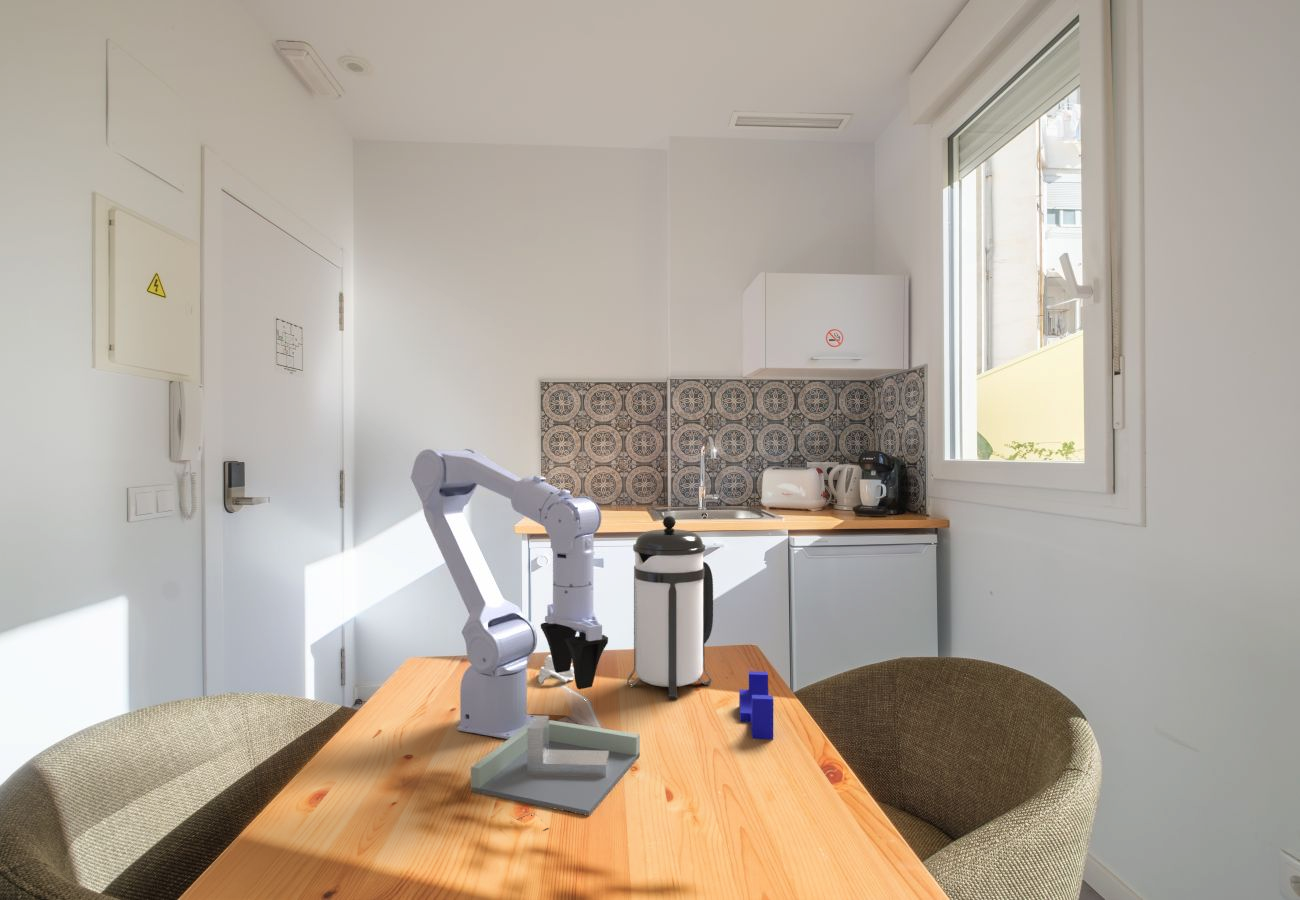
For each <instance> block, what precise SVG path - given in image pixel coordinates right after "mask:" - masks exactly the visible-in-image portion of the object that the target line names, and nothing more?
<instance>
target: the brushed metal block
mask: <svg viewBox="0 0 1300 900" xmlns="http://www.w3.org/2000/svg"><path fill="white" fill-rule="evenodd" d="M549 720H550V716H549V715H534V717H533V719H532V720H531V722H530V724H529V726H528V728H527V775H539V776H590V777H606V774H607V770H608V765H609V751H594V750H549Z"/></svg>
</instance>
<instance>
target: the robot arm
mask: <svg viewBox="0 0 1300 900" xmlns="http://www.w3.org/2000/svg"><path fill="white" fill-rule="evenodd" d="M410 479H411V481H412V483H413V486H414V488H415V490H416V491H415V492H417V495H418V497H419V499H420V501H421V505H422V510H423V514H424V515H423V516H424V518H425V520H426V522H427V525H428V528H429V529H430V531H431V533H432V536H433V538H434V540H435V542H436V544H437V547H438V550H440V554H441V555H442V557H443V559H444V562H445V564H446V566H447V569H448V571H449V573H450V575H451V578H452V579H453V582H454V583H455V586H456V588H457V590H458V592H459V594H460V597H461V599H462V601H463V604H464V606H465V607H466V609H467V612H468V615H469V616H468V618H467V620H466V622H465V624H464V626H463V627H462V630H461V634H462V636H463V638H464V642H465V647H466V648H465V649H466V655H467V659H468V661H469V663H470V665H469V666H468V667H467V669H466V670H465V671H464V673H463V675H462V678H461V680H460V681H461V682H460V690H459V696H460V697H459V699H460V700H459V701H460V702H459V703H460V706H459V707H460V715H459V717H460V719H459V720H460V721H459V722H460V724H459V725H458V726H457V727H456V729H457V731H460V732H466V733H470V734H471V733H473V734H477V735H482V736H483V735H484V736H489V737H494V738H500V739H506V740H508V739H509V738H510V737H512V736H513V735H515V734H516V733H517V732H519V731H520V730H521V729H523V728H524V727H525V726H527V725H528V724H529V723H530V722H531V720H532V719H533V717H534V716H535V715H532V714H528V712H527V710H528V709H527V708H528V707H527V706H528V703H527V702H528V699H527V698H528V697H527V696H528V693H527V691H528V690H527V688H528V683H527V682H528V678H527V677H528V674H527V669H528V668H527V667H528V664H529V663H530V656H531V655H532V654H533V653H534V652H535V650H536V648H537V645H538V634H537V630H536V629H535V627H534V626H535V625H533V623H532V622H531V621H530V620H529V619H528V618H526V616H525V614H523V612H522V611H521V608H520V606H518V605H516V604H515V603H513V602H511V601H509V600H507V599H506V598H504V597H503V595H502V593H501V591H500V589H499V587H498V584H497V582H496V581H495V578H494V576H493V575H492V571H491V570H490V568H489V566H488V563H487V562H486V559H485V558H484V556H483V553H482V551H481V549H480V547H479V544H478V543H477V540H476V538H475V536H474V534H473V532H472V530H471V528H470V525H469V524H468V522H467V520H466V517H465V515H464V513H463V511H464V507H465V506H467V504H468V503H469V502H470V500H471V499H472V497H473V494H474V493H475V491H476V489H477V487H478V486H481V487H483V488H485V489H487V490H490V491H491V492H494V493H496V494H498V495H501V496H503V497H505V498H506V499H509V500H510V503H511V507H512V509H513V510H514V511H515V512H516V513H519V514H520V515H522V516H525V517H526V518H527V519H530V520H532V521H533V522H535V523H538V524H539V525H541V526H543V527H544V529H545V532H546V534H547V535H548V537H549V540H550V549H552V551H551V552H552V603H551V604H547V615H545V616H544V622H542V623H541V624H540V629H541V630H542V632H543V634H544V637H545V638H546V641H547V644H548V646H549V647H548V648H549V652H550V655H551V656H552V661H553V666H554V669H555V672H556V673H560V672H565V671H570V667H571V663H572V667H574V672H573V674H574V676H573V678H574V682H575V686H576V689H578V690H584V689H588V688H592V687H593V684H594V682H595V681H594V680H595V677H596V672H597V668H598V665H599V662H600V659H601V656H602V654H603V652H604V650H605V648H606V647H607V645H608V643H609V637H608V636H606V635H605V634H603V625H602V624H601V623H599V620H598V619H597V617H596V613H595V612H594V534H596V533H597V532H598V530H599V529H600V528H601V523H602V512H601V508H600V507H599V506H598V504H597V502H595V501H594V499H591V498H590V496H586V495H581V496H577V497H573V495H571V491H570V490H568V489H565V488H564V489H559V488H557V487H555V486H553V485H551V484H549V483H548V482H546V481H547V478H546V477H544V476H542V475H534V476H532V475H530V476H526V477H523V478H520V477H519V476H517V475H515V474H514V473H512V472H510V471H509V470H507V469H506V468H504V467H502V466H500V465H498V464H497V463H495V462H494V461H492V460H490V459H488V458H487V457H486V455H485V454H484V453H482V452H481V453H480V452H477V451H475V450H474V449H472V448H471V449H469V448H464V449H447V450H446V449H444V450H443V449H441V450H439V449H437V450H436V449H429V448H427V449H423V450H422V451H420V452H419V453H418V455H417V456H416V457H415V460H414V463H413V467H412V472H411V475H410ZM577 633H578V635H577ZM576 635H577V636H576Z"/></svg>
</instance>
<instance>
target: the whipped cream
mask: <svg viewBox="0 0 1300 900" xmlns="http://www.w3.org/2000/svg"><path fill="white" fill-rule="evenodd" d="M543 663H544V666H541V667H540V669H539V672H538V673H539V674H538V683H539V684H540V685H542V684H544V681H546V679H547V678H550V677H555V678H556V679H559V681H562V682H564V683H567V681H570V682H572V680H573V678H574V667H573V662H571V667H570V671H565V672H560V673H556V672H555V669H554V666H553V661H552V656H551V654H548V655H547V656H546V657H545V659H544V661H543ZM573 681H574V680H573Z"/></svg>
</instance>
